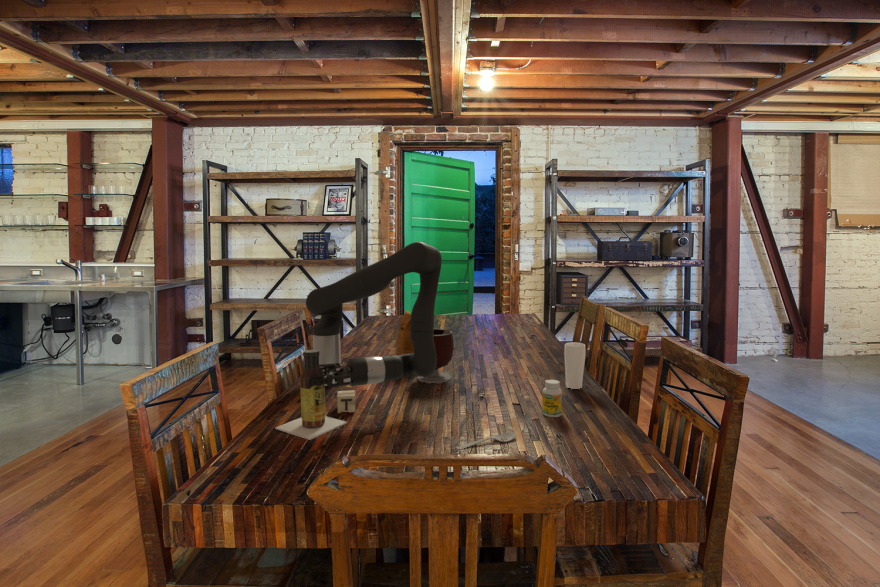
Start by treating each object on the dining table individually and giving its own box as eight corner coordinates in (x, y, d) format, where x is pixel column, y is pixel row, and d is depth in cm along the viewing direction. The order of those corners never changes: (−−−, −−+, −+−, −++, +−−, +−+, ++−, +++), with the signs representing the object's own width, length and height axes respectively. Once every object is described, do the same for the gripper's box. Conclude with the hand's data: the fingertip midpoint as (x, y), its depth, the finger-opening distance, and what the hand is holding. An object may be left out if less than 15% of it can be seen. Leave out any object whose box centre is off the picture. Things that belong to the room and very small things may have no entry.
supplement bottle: (561, 412, 135) (562, 379, 134) (560, 418, 130) (561, 385, 129) (542, 410, 137) (543, 378, 136) (541, 416, 132) (542, 383, 131)
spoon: (520, 441, 116) (520, 435, 116) (444, 457, 108) (444, 450, 107) (511, 435, 120) (511, 429, 120) (437, 449, 111) (437, 443, 111)
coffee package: (418, 362, 192) (417, 309, 190) (424, 370, 180) (424, 313, 178) (394, 363, 190) (393, 310, 187) (399, 371, 178) (398, 314, 175)
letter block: (338, 407, 139) (337, 391, 139) (355, 406, 140) (354, 390, 140) (337, 413, 134) (337, 396, 134) (355, 412, 135) (355, 395, 135)
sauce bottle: (319, 429, 121) (316, 354, 119) (297, 428, 122) (293, 353, 120) (330, 420, 127) (327, 348, 125) (308, 419, 129) (305, 348, 127)
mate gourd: (408, 381, 165) (408, 325, 163) (423, 371, 178) (423, 319, 176) (450, 386, 160) (450, 328, 157) (462, 375, 173) (462, 322, 170)
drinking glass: (585, 386, 160) (587, 343, 158) (582, 392, 154) (584, 347, 152) (565, 383, 163) (566, 341, 161) (561, 389, 156) (563, 345, 155)
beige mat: (275, 429, 123) (275, 427, 123) (313, 413, 134) (313, 412, 134) (309, 440, 116) (309, 438, 116) (346, 423, 127) (346, 421, 127)
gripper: (359, 352, 135) (301, 357, 129) (373, 363, 123) (309, 370, 116) (359, 377, 136) (302, 384, 130) (373, 391, 123) (310, 399, 117)
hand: (305, 377), depth 123 cm, fingers open, 8 cm apart
